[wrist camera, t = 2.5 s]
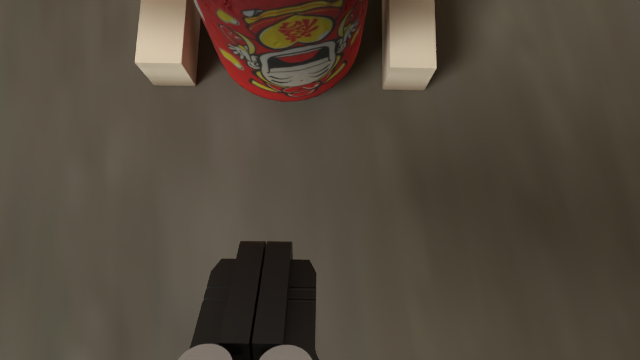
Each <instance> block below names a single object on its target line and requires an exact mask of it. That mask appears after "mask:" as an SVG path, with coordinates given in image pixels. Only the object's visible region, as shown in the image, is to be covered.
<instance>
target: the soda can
mask: <svg viewBox="0 0 640 360" xmlns="http://www.w3.org/2000/svg"><path fill="white" fill-rule="evenodd" d="M194 2H195V5H196V7H197V9H198V12H199V14H200V16H201V18H202V21H203V23H204V25H205V27H206V29H207V31H208V33H209V36H210V38H211V40H212V43H213V45H214V47H215V50H216V52H217V54H218V56H219V58H220V60H221V62H222V64H223V66H224V67H225V69H226V70H227V71H228V73H229V74H230V76H231V77H232V78H233V79H234V80H235V81H236V82H237V83H238V84H239V85H240V86H242V87H243V88H245V89H246V90H248V91H249V92H251V93H252V94H254V95H257V96H260V97H262V98H266V99H271V100H276V101H281V102H290V101H300V100H306V99H310V98H313V97H316V96H319V95H321V94H322V93H324V92H326V91H327V90H329V89H331V88H332V87H334V86H335V85H336V84H337V83H338V82H339V81H340V80H341V79H342V78H343V77H344V76H345V75H346V74H347V72H348V71H349V69H350V68H351V67H352V65H353V63H354V61H355V58H356V56H357V53H358V50H359V47H360V43H361V37H362V31H363V26H364V21H365V16H366V12H367V6H368V0H194Z"/></svg>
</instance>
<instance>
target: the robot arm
mask: <svg viewBox="0 0 640 360" xmlns="http://www.w3.org/2000/svg"><path fill="white" fill-rule="evenodd" d="M315 320H316V272H315V270H314V268H313V266H312V264H311V262H310V260H293V253H292V242H275V241H268V242H267V245H266V242H265V241H241V242H240V244H239V249H238V253H237V258H236V259H221V260H220V261H219V263H218V264H217V265H216V266H215V267H214V268H213V270H212V271H211V273H210V277H209V281H208V284H207V289H206V292H205V295H204V301H203V303H202V306H201V310H200V314H199V317H198V321H197V324H196V328H195V332H194V335H193V339H192V343H191V346H190V348H189V350H187V351H186V352H185V353H184V354H183V355H182V356H181V357H180V358H179V359H178V360H319V359H318V357H317V355H316V351H315Z"/></svg>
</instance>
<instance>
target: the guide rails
mask: <svg viewBox="0 0 640 360" xmlns="http://www.w3.org/2000/svg"><path fill="white" fill-rule="evenodd" d="M200 21H201V16H200V14H199V12H198V9H197V7H196V5H195V2H194V0H141V6H140V16H139V26H138V36H137V46H136V56H135V63H136V65H137V66H138V67H139V68H140V69H141V70H142V72H143V73H144V74H145V75H146V76H147V77H148V79H149V80H150V81H151V82H152V83H153V84H154V85H171V86H196V75H197V62H198V48H199V35H200ZM436 68H437V66H436V34H435V2H434V0H382V84H383V90H424V89H425V88H426V86H427V84H428V82H429V81H430V79H431V77H432V75H433V74H434V72H435V70H436Z"/></svg>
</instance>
